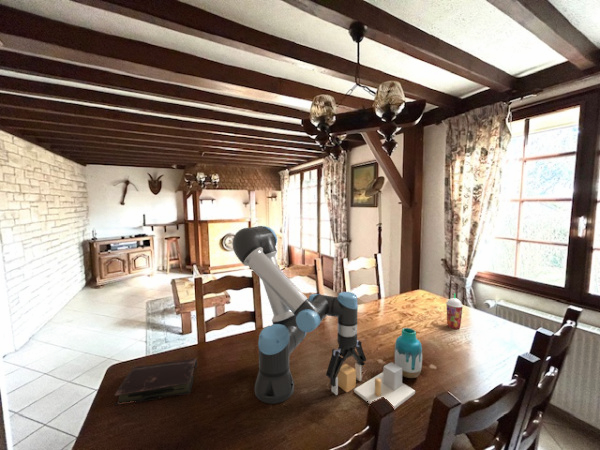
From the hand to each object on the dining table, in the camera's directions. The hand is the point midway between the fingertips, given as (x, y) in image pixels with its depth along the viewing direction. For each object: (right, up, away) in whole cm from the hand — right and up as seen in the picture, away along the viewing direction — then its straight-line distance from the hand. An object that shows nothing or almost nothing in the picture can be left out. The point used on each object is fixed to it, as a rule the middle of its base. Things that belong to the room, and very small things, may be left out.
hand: (346, 385), depth 102 cm
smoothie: (+72, +3, +50) cm, 88 cm away
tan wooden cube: (0, 0, 0) cm, 0 cm away
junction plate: (+14, 0, -4) cm, 14 cm away
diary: (-74, -1, +1) cm, 74 cm away
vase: (+27, 0, +7) cm, 28 cm away
